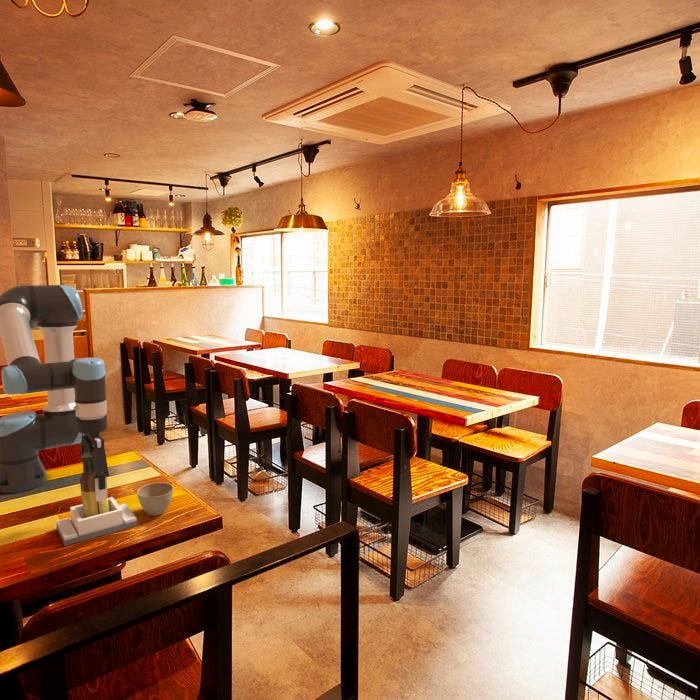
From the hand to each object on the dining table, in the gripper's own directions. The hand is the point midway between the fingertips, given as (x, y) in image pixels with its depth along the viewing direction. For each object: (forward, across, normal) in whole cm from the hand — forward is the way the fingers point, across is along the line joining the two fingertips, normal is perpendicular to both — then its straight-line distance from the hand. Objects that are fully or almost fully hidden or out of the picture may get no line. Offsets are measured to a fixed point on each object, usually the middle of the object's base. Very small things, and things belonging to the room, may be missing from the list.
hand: (95, 490), depth 141 cm
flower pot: (+11, 0, +16) cm, 19 cm away
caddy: (+11, 0, 0) cm, 11 cm away
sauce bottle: (+9, 0, 0) cm, 9 cm away
